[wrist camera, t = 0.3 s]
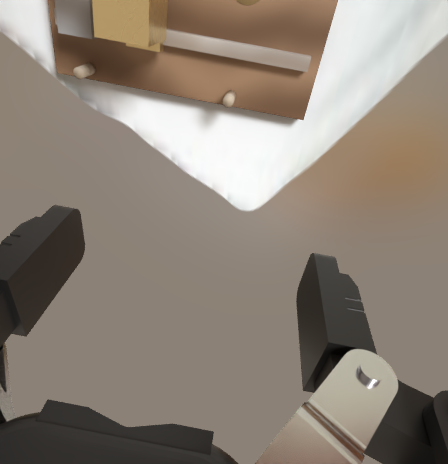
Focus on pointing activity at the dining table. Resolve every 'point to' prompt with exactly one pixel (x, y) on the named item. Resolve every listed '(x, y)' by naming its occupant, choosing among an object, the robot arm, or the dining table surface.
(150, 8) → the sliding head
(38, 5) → the dining table surface
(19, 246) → the robot arm
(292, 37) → the wooden slider board
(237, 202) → the dining table surface
